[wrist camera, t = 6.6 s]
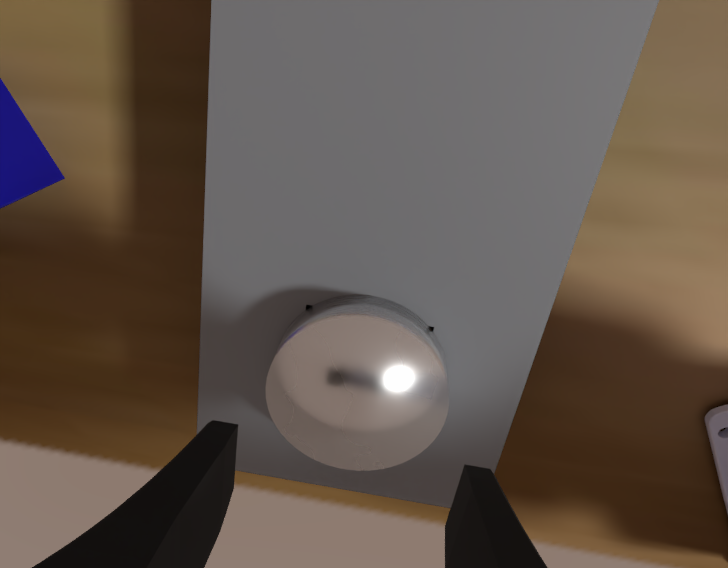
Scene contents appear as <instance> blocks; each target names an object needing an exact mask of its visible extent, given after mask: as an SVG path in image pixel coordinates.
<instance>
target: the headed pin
mask: <svg viewBox="0 0 728 568" xmlns="http://www.w3.org/2000/svg"><path fill="white" fill-rule="evenodd" d="M265 389H266V401H267V406H268V410H269V412H270V415H271V418H272V420H273V422H274V423H275V425H276V427H277V428H278V430H279V431H280V433H281V434H282V435H283V436H284V437H285V438H286V440H287V441H288V442H289V443H291V444H292V445H293V446H294V447H295V448H296V449H298V450H299V451H301V452H302V453H303V454H305V455H307V456H308V457H310V458H312V459H314V460H316V461H318V462H321V463H323V464H326V465H329V466H333V467H336V468H341V469H346V470H356V471H370V470H379V469H384V468H389V467H393V466H396V465H399V464H402V463H404V462H406V461H408V460H410V459H412V458H414V457H415V456H417V455H418V454H420V453H421V452H422V451H424V450H425V449H426V448H427V447H428V446H429V445H430V444H431V443H432V442H433V441H434V440H435V439H436V437H437V436H438V434H439V433H440V431H441V429H442V427H443V425H444V423H445V420H446V417H447V414H448V407H449V390H448V381H447V372H446V363H445V358H444V353H443V350H442V347H441V344H440V342H439V341H438V339H437V337H436V335H435V334H434V332H433V331H432V329H431V328H430V327H429V326H428V325H427V324H426V323H425V321H424V320H423V319H422V318H420V317H419V316H418V315H417V314H415V313H414V312H413V311H411V310H409V309H408V308H406V307H404V306H403V305H400V304H398V303H396V302H394V301H391V300H388V299H385V298H381V297H376V296H371V295H344V296H338V297H333V298H330V299H327V300H324V301H321V302H319V303H317V304H315V305H313V306H311V307H310V308H308V309H306V310H305V311H304V312H302V313H301V314H300V315H299V316H298V317H297V318H296V319H295V320H294V321H293V322H292V323H291V324H290V325H289V327H288V328H287V330H286V331H285V333H284V335H283V337H282V340H281V342H280V344H279V347H278V349H277V351H276V354H275V356H274V359H273V361H272V364H271V366H270V369H269V372H268V375H267V380H266V388H265Z"/></svg>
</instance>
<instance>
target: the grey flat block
mask: <svg viewBox="0 0 728 568" xmlns="http://www.w3.org/2000/svg"><path fill="white" fill-rule="evenodd" d="M658 2H659V0H212V1H211V30H210V60H209V90H208V119H207V149H206V178H205V208H204V237H203V267H202V297H201V326H200V356H199V385H198V415H197V434H198V433H199V432H200V431H201V430H202V429H203V428H204V427H205V426H206V424H207V423H209V422H210V421H212V420H216V421H221V422H227V423H233V424H238V436H237V449H236V462H235V470H237V471H242V472H248V473H254V474H259V475H265V476H271V477H276V478H282V479H288V480H293V481H299V482H305V483H311V484H316V485H322V486H328V487H333V488H339V489H345V490H350V491H356V492H362V493H367V494H373V495H379V496H384V497H390V498H396V499H401V500H407V501H413V502H418V503H424V504H430V505H436V506H441V507H447V508H451V506H452V503H453V500H454V496H455V493H456V490H457V487H458V484H459V481H460V477H461V474H462V471H463V468H464V465H465V464H466V465H471V466H477V467H483V468H488V469H491V470H492V472H493V473H495V470H496V467H497V464H498V461H499V458H500V456H501V453H502V450H503V447H504V444H505V441H506V438H507V435H508V433H509V430H510V427H511V424H512V421H513V418H514V415H515V412H516V410H517V407H518V404H519V401H520V398H521V395H522V392H523V389H524V387H525V384H526V381H527V378H528V375H529V372H530V369H531V366H532V364H533V361H534V358H535V355H536V352H537V349H538V346H539V343H540V341H541V338H542V335H543V332H544V329H545V326H546V323H547V320H548V318H549V315H550V312H551V309H552V306H553V303H554V300H555V297H556V295H557V292H558V289H559V286H560V283H561V280H562V277H563V275H564V272H565V269H566V266H567V263H568V260H569V257H570V254H571V252H572V249H573V246H574V243H575V240H576V237H577V234H578V231H579V229H580V226H581V223H582V220H583V217H584V214H585V211H586V208H587V206H588V203H589V200H590V197H591V194H592V191H593V188H594V185H595V183H596V180H597V177H598V174H599V171H600V168H601V165H602V162H603V160H604V157H605V154H606V151H607V148H608V145H609V142H610V139H611V137H612V134H613V131H614V128H615V125H616V122H617V119H618V116H619V114H620V111H621V108H622V105H623V102H624V99H625V96H626V94H627V91H628V88H629V85H630V82H631V79H632V76H633V73H634V71H635V68H636V65H637V62H638V59H639V56H640V53H641V50H642V48H643V45H644V42H645V39H646V36H647V33H648V30H649V27H650V25H651V22H652V19H653V16H654V13H655V10H656V7H657V4H658ZM344 295H371V296H376V297H381V298H385V299H388V300H391V301H394V302H396V303H398V304H400V305H403V306H404V307H406V308H408V309H409V310H411V311H413V312H414V313H415V314H417V315H418V316H419V317H420V318H422V319H423V320H424V321H425V323H426V324H427V325H428V326H429V327H430V328H431V329H432V331H433V332H434V334H435V335H436V337H437V339H438V341H439V342H440V344H441V347H442V350H443V353H444V358H445V363H446V372H447V381H448V390H449V407H448V414H447V417H446V420H445V423H444V425H443V427H442V429H441V431H440V433H439V434H438V436H437V437H436V439H435V440H434V441H433V442H432V443H431V444H430V445H429V446H428V447H427V448H426V449H425V450H424V451H422V452H421V453H420V454H418V455H417V456H415V457H414V458H412V459H410V460H408V461H406V462H404V463H402V464H399V465H396V466H393V467H389V468H384V469H379V470H370V471H356V470H346V469H341V468H336V467H333V466H329V465H326V464H323V463H321V462H318V461H316V460H314V459H312V458H310V457H308V456H307V455H305V454H303V453H302V452H301V451H299V450H298V449H296V448H295V447H294V446H293V445H292V444H291V443H289V442H288V441H287V440H286V438H285V437H284V436H283V435H282V434H281V433H280V431H279V430H278V428H277V427H276V425H275V423H274V422H273V420H272V418H271V415H270V412H269V410H268V406H267V401H266V389H265V388H266V380H267V375H268V372H269V369H270V366H271V364H272V361H273V359H274V356H275V354H276V351H277V349H278V347H279V344H280V342H281V340H282V337H283V335H284V333H285V331H286V330H287V328H288V327H289V325H290V324H291V323H292V322H293V321H294V320H295V319H296V318H297V317H298V316H299V315H300V314H301V313H302V312H304V311H305V310H306V309H308V308H310V307H311V306H313V305H315V304H317V303H319V302H321V301H324V300H327V299H330V298H333V297H338V296H344Z"/></svg>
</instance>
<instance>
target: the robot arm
mask: <svg viewBox="0 0 728 568" xmlns="http://www.w3.org/2000/svg"><path fill="white" fill-rule="evenodd" d="M705 424H706V428H707V432H708V436H709V440H710V444H711V448H712V453H713V457H714V461H715V465H716V469H717V473H718V477H719V481H720V486H721V490H722V494H723V498H724V502H725V506H726V510H727V515H728V404H727V405H723V406H719V407H716V408H714V409H711V410H710V411H709V412H708V413H707V414H706V416H705ZM723 428H726V429H725V430H723V431H720V430H721V429H723ZM237 436H238V424H233V423H227V422H221V421H216V420H212V421H210V422H209V423H207V424H206V426H205V427H204V428H203V429H202V430H201V431H200V432H199V433H198V434H197V435H196V436H195V437H194V438H193V439H192V440H191V441H190V443H189V444H188V445H187V446H186V447H185V448H184V449H183V450H182V451H181V452H180V453H178V454H177V455H176V456H175V457H174V458H173V459H172V460H171V461H170V462H169V463H168V464H167V465H166V466H165V467H164V468H163V469H162V470H161V471H159V472H158V473H157V474H156V475H155V476H154V477H153V478H152V479H151V480H150V481H149V482H147V483H146V484H145V485H144V486H143V487H142V488H140V490H138V491H137V492H136V493H135V494H133V495H132V496H131V497H130V498H129V499H127V500H126V501H125V502H124V503H123V504H121V505H120V506H119V507H118V508H117V509H115V510H114V511H113V512H112V513H110V514H109V515H108V516H106V517H105V518H104V519H102V520H101V521H100V522H98V523H97V524H96V525H94V526H93V527H92V528H90V529H89V530H88V531H86V532H85V533H83V534H82V535H81V536H79V537H78V538H76V539H75V540H74V541H72V542H71V543H69V544H68V545H66V546H65V547H63V548H62V549H60V550H59V551H57V552H56V553H54V554H52V555H51V556H49V557H48V558H46V559H45V560H44V561H42V562H40V563H39V564H37V565H35V566H34V567H32V568H204V567H205V564H206V562H207V560H208V558H209V555H210V553H211V551H212V549H213V546H214V544H215V542H216V539H217V537H218V535H219V532H220V530H221V527H222V523H223V521H224V517H225V514H226V511H227V508H228V505H229V502H230V498H231V495H232V492H233V489H234V476H235V462H236V449H237ZM445 568H547V566H546V565H545V563H544V562H543V560H542V558H541V557H540V555H539V554H538V552H537V550H536V549H535V547H534V545H533V544H532V542H531V540H530V539H529V537H528V535H527V534H526V532H525V530H524V529H523V527H522V525H521V523H520V522H519V520H518V518H517V516H516V514H515V513H514V511H513V509H512V507H511V505H510V504H509V502H508V500H507V498H506V496H505V494H504V492H503V490H502V489H501V487H500V485H499V483H498V481H497V479H496V477H495V475H494V473H493V472H492V470H491V469H488V468H483V467H477V466H471V465H466V464H465V465H464V468H463V471H462V474H461V477H460V481H459V484H458V487H457V490H456V493H455V496H454V500H453V503H452V506H451V509H450V512H449V516H448V519H447V522H446V525H445Z"/></svg>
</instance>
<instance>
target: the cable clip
mask: <svg viewBox="0 0 728 568" xmlns="http://www.w3.org/2000/svg"><path fill="white" fill-rule="evenodd" d="M62 179H64V176H63V175H62V173H61V172H60V170H59V168H58V167H57V165H56V164H55V162H54V161H53V159H52V158H51V156H50V155H49V153H48V151H47V150H46V148H45V147H44V145H43V144H42V142H41V141H40V139H39V137H38V136H37V134H36V133H35V131H34V130H33V128H32V127H31V125H30V123H29V122H28V120H27V119H26V117H25V116H24V114H23V113H22V111H21V110H20V108H19V106H18V105H17V103H16V102H15V100H14V99H13V97H12V96H11V94H10V92H9V91H8V89H7V88H6V86H5V85H4V83H3V82H2V80H1V78H0V209H1V208H3V207H5V206H7V205H9V204H11V203H13V202H15V201H18V200H20V199H22V198H24V197H26V196H28V195H30V194H33V193H35V192H37V191H39V190H41V189H43V188H45V187H47V186H50V185H52V184H54V183H56V182H58V181H60V180H62Z"/></svg>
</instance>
